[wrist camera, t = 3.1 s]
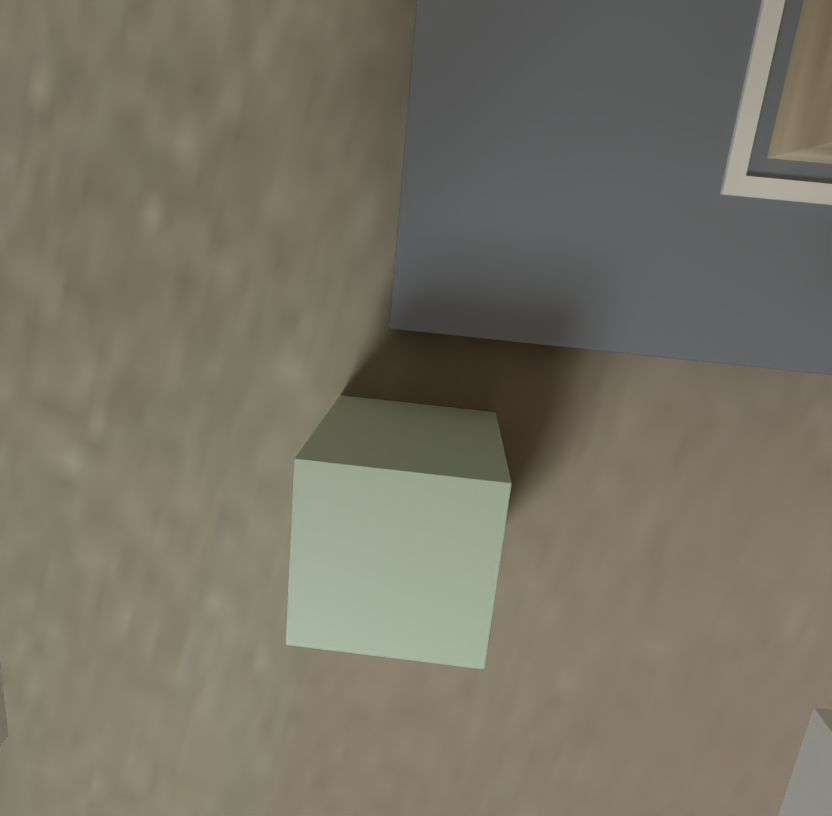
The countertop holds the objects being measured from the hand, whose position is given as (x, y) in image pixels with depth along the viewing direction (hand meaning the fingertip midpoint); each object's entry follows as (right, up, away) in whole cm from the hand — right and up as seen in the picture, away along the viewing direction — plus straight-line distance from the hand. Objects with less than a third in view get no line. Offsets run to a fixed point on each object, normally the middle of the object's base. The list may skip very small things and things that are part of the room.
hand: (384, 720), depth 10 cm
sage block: (0, +3, +11) cm, 11 cm away
